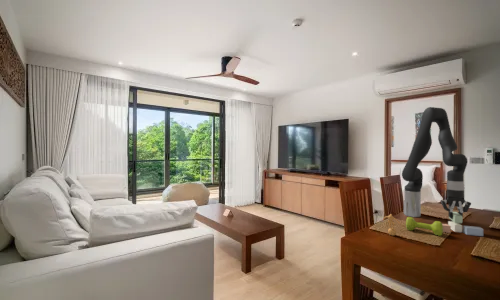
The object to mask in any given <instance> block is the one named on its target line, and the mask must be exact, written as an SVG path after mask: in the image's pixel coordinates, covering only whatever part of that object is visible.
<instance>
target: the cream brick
mask: <svg viewBox="0 0 500 300" xmlns="http://www.w3.org/2000/svg"><path fill="white" fill-rule="evenodd" d="M447 224H448V225H450V226H451V230H452V231H453V232H455V233H463V224H461V223H455V222H453V221H452V220H447Z"/></svg>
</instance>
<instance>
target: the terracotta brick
mask: <svg viewBox="0 0 500 300" xmlns="http://www.w3.org/2000/svg"><path fill="white" fill-rule="evenodd" d="M442 225H443V233H445V232H446V233H448V234H451V233H452V231H451V226H450V225H448V223H442ZM446 233H445V234H446Z"/></svg>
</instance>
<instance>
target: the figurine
mask: <svg viewBox="0 0 500 300" xmlns="http://www.w3.org/2000/svg"><path fill="white" fill-rule="evenodd" d="M386 218H387V219H388V220H387V222H388V224H389V228H388V230H387V232H388V235H390V236H396V235H397V230H396V229H395V228H394V227H395V222H394V220H395V221H396V222H397V223H399V225H401V223H400V221H398V219H397V218H395V217H394V216H393V214H392V213H390V214H389V215H386V216H383V219H382V220H383V221H385V219H386ZM391 224H392V225H391ZM391 226H392V227H391Z"/></svg>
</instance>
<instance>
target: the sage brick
mask: <svg viewBox="0 0 500 300" xmlns="http://www.w3.org/2000/svg"><path fill="white" fill-rule="evenodd" d="M452 212H453V219H451V218H450V217H449V216H448V219H450V221H453V222H455V223H459V224H463V219H464V218H463V216H464V215H463V216H461V215H460V214H459V213H458V211H452Z"/></svg>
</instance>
